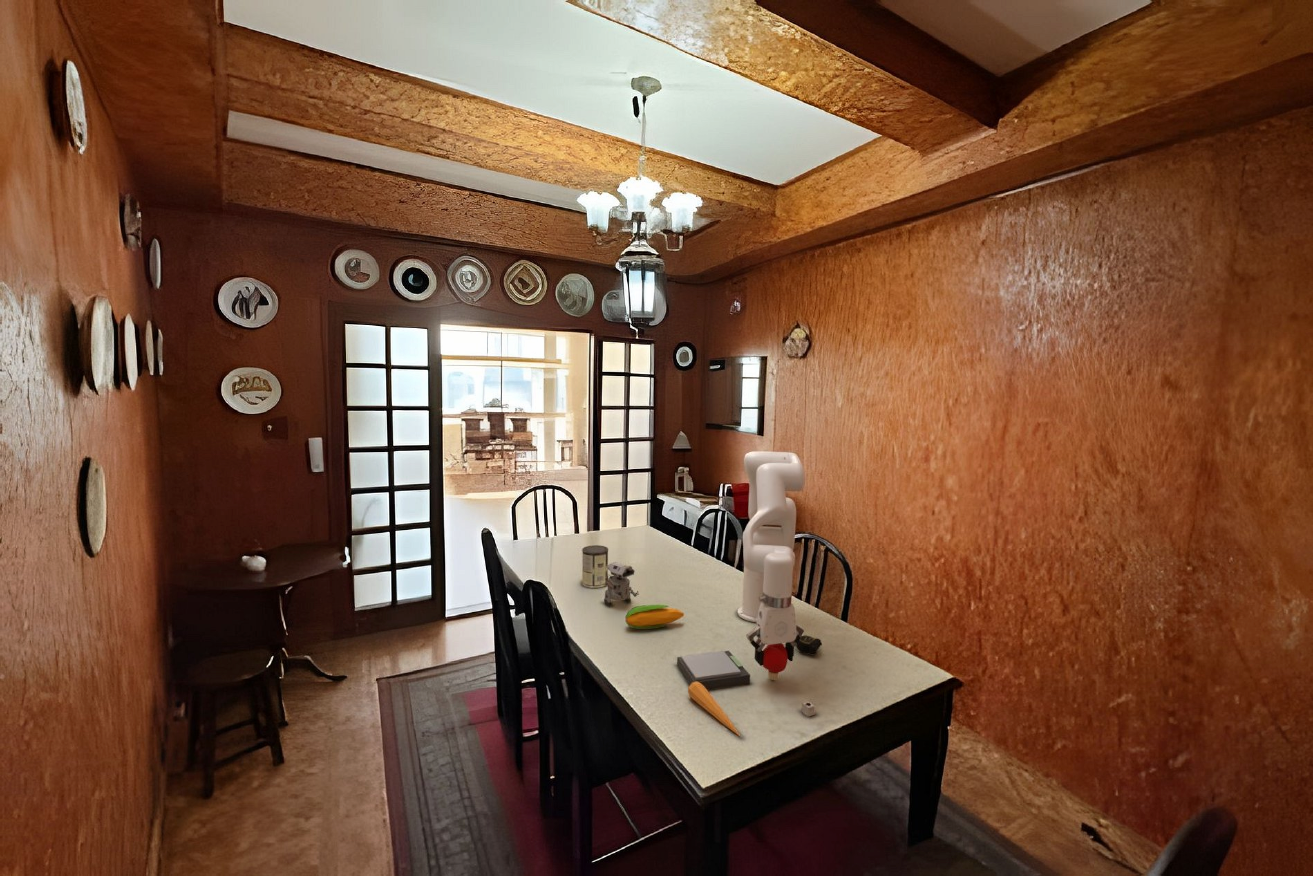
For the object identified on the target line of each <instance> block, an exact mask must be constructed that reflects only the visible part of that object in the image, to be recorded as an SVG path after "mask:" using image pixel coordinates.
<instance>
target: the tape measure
mask: <svg viewBox="0 0 1313 876" xmlns="http://www.w3.org/2000/svg"><path fill="white" fill-rule="evenodd" d="M821 646H823V642H822V641H821V639H820V638H815V637H813V636H811V635H805V634H802V636H801V637H800V640H799V641H798V642H797V643H796V647H795V648H796V649H797V651H798V652H800V653H802V654H805V655H813V656H815V655H816V654H817V652H818V651H819V649H820V648H821Z"/></svg>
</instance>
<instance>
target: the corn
mask: <svg viewBox="0 0 1313 876" xmlns="http://www.w3.org/2000/svg"><path fill="white" fill-rule="evenodd" d="M684 615H685V613H684V612H682V611H681V610H680V609H677V608H669V605H666V604H648V605H646V604H645V605H637V606H634V607H632V608H631V609H629V610H628V611H627V612H626V614H625V624H627V625H628V626H629V627H631V628H632V629H635V630H636V629H637V630H650V629H658V628H664V627H667V625H669V624H672V623H674V622H676V621H678V620H680V619H681V618H683V617H684Z"/></svg>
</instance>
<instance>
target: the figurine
mask: <svg viewBox="0 0 1313 876" xmlns="http://www.w3.org/2000/svg"><path fill="white" fill-rule="evenodd" d="M607 569H608V571H609V572H610V574H608V575H607V576H606V578H605V585H606V586H607V589H606V590H605V591H604V599H603V602H604V604H605V605H607V606H608V607H611V606H613V602H612V601H616V602H617V601H618V602H619V601H625V602H626V603H631V602H632V598H631V594H632V595H633V597H634V598H636V597H637V596H639V595H640V594H639V591H638V590H637V591H636V592H635V591H634V590H633V589H632V587H631V586H630V583H631V580H630V579H629V577H631V576H634V575H635V569H634V568H633V567H632V566H631V565H626V564H624V563H623V564H622V563H619V562H616V561H614V562H611V563H608V566H607Z"/></svg>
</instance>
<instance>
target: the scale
mask: <svg viewBox="0 0 1313 876" xmlns="http://www.w3.org/2000/svg"><path fill="white" fill-rule="evenodd" d="M676 658H677V659H676V666H677V668H678V669H679V671H680V672H681V674H682V675H683V677H684V678H685V681H686V682H687V683H688V685H689V686H690V685H691V684H692V683H693V682H696V681H697V682H699V683H701V684H702V685H703V686H704V687H705V688H706V689H707V691H708V690H709V691H710V690H715V689H716V690H717V689H723V688H728V687H735V686H736V687H737V686H743V685H750V684H751V674H750V673H749V671H747V669H746V668H745V667H744V665H743V664H742V663H741V662H740V661H739V659H738V658H737V657H736V656H735V655H733V653H731V651H730V650H717V651H710V652H709V651H708V652H701V653H693V654H685V655H684V654H683V655H680V656H677V657H676Z"/></svg>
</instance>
